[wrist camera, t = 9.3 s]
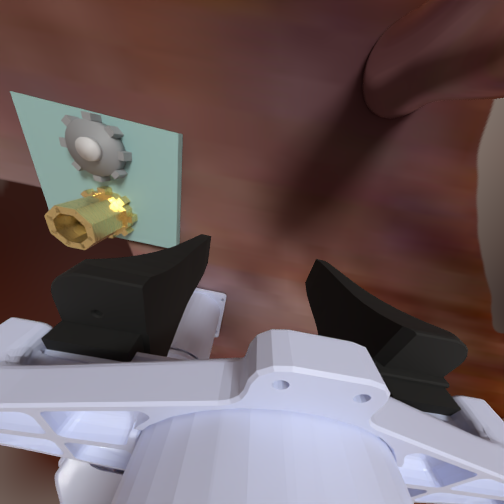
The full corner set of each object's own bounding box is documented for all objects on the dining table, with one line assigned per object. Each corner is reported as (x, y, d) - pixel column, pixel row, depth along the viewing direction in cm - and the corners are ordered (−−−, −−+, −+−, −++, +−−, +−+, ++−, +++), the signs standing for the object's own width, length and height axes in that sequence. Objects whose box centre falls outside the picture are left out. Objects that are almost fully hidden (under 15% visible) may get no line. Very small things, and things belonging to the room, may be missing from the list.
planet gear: (139, 239, 21) (108, 261, 17) (92, 229, 21) (47, 249, 17) (134, 192, 19) (97, 205, 14) (80, 180, 19) (25, 189, 14)
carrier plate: (179, 245, 23) (164, 263, 19) (61, 221, 22) (24, 234, 18) (182, 134, 17) (162, 130, 14) (23, 94, 16) (-43, 78, 13)
